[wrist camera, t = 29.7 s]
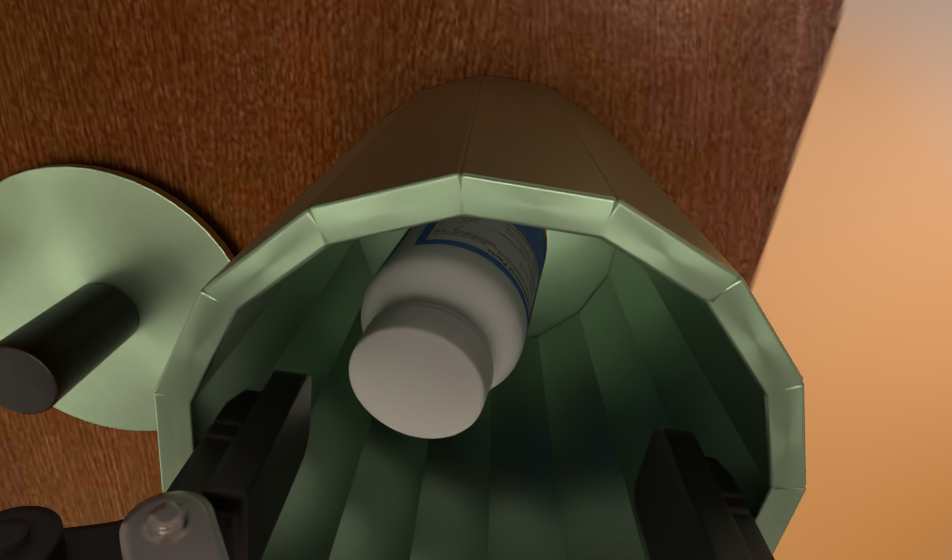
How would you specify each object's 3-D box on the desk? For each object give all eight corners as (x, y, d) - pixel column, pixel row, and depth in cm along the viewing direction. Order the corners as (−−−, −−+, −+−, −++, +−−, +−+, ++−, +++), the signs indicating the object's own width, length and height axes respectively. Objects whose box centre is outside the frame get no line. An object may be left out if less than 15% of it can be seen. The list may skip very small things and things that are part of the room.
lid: (-57, 136, 25) (-234, 176, 19) (263, 187, 25) (190, 242, 19) (0, 397, 30) (-123, 492, 24) (262, 434, 31) (204, 537, 25)
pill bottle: (468, 308, 27) (394, 476, 19) (398, 211, 25) (282, 349, 17) (576, 259, 24) (544, 429, 16) (506, 148, 23) (431, 275, 14)
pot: (355, 51, 23) (129, 118, 9) (669, 104, 23) (931, 249, 9) (337, 328, 28) (175, 651, 14) (594, 368, 28) (689, 719, 14)
